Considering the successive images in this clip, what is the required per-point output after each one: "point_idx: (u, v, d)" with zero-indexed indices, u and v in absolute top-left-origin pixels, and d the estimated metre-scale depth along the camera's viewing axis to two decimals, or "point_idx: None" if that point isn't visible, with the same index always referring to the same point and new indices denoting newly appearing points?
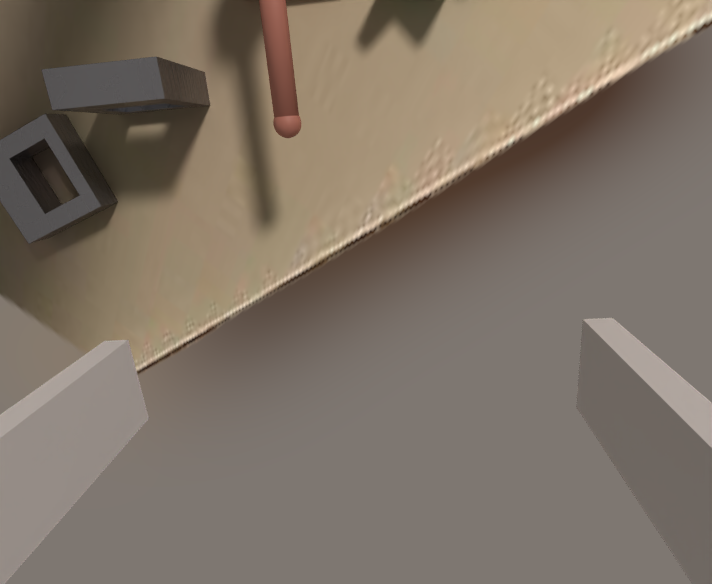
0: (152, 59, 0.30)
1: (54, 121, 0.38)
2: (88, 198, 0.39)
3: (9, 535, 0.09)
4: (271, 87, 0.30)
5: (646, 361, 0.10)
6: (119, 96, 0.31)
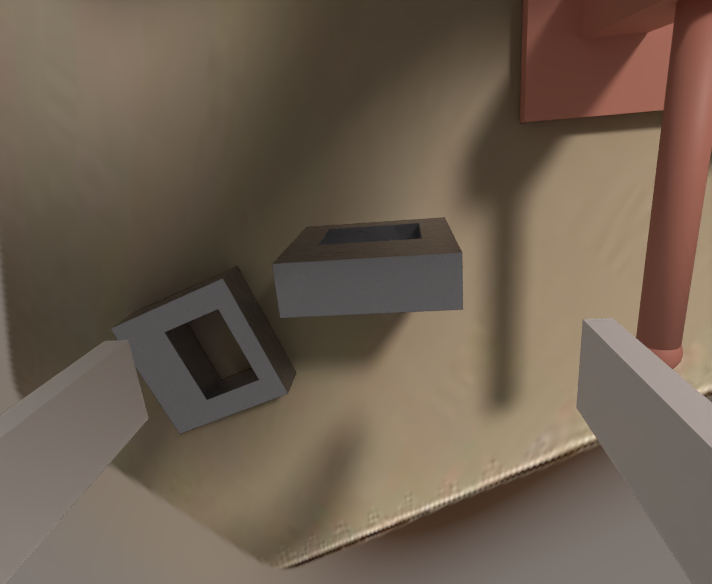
0: (455, 256, 0.19)
1: (231, 285, 0.27)
2: (271, 384, 0.28)
3: (9, 535, 0.09)
4: (653, 306, 0.19)
5: (646, 361, 0.10)
6: (389, 303, 0.20)
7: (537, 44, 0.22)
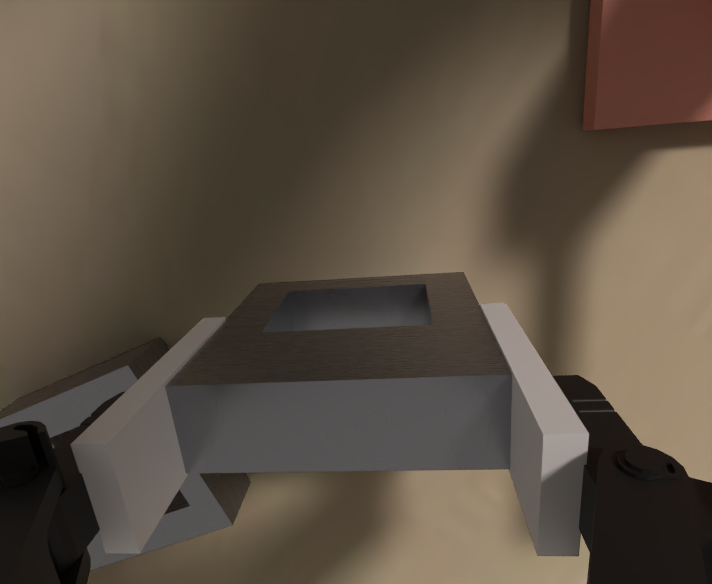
0: (499, 381, 0.10)
1: (144, 372, 0.18)
2: (207, 511, 0.19)
3: (160, 481, 0.11)
4: None
5: (513, 337, 0.12)
6: (378, 456, 0.11)
7: (620, 3, 0.14)
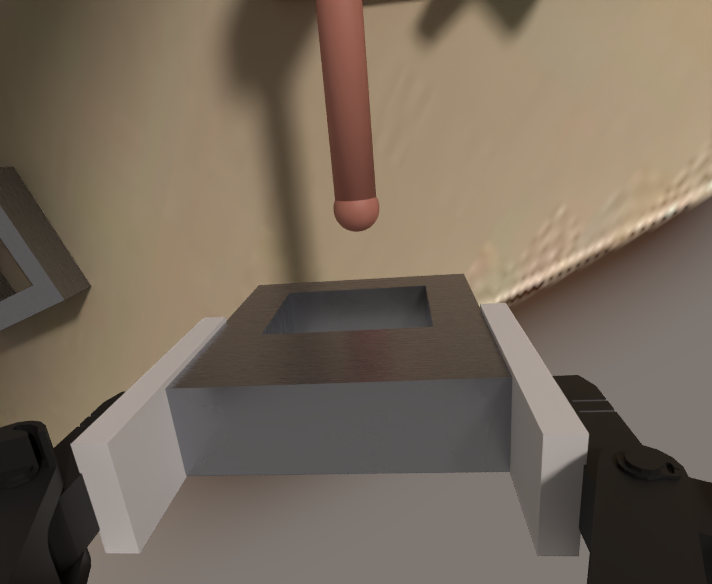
0: (499, 384, 0.10)
1: None
2: (45, 289, 0.27)
3: (160, 481, 0.11)
4: (333, 151, 0.17)
5: (513, 337, 0.12)
6: (378, 458, 0.11)
7: None
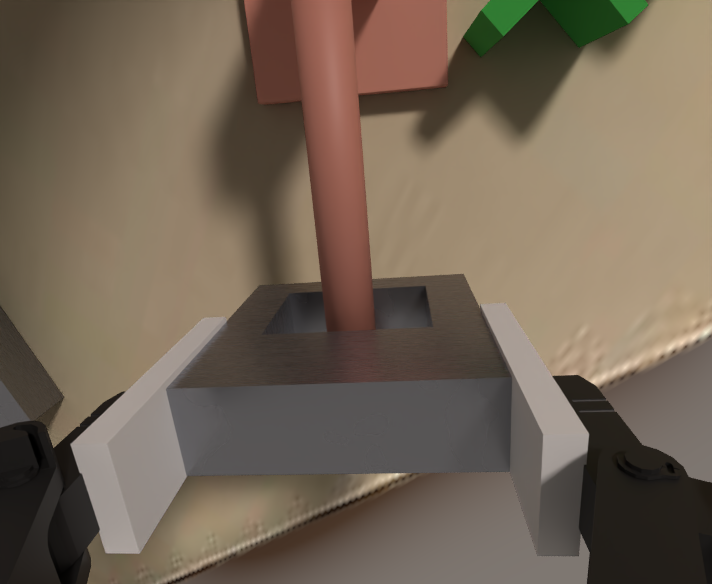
0: (499, 384, 0.10)
1: None
2: (10, 411, 0.24)
3: (160, 481, 0.11)
4: (329, 324, 0.15)
5: (513, 337, 0.12)
6: (378, 458, 0.11)
7: (257, 9, 0.19)
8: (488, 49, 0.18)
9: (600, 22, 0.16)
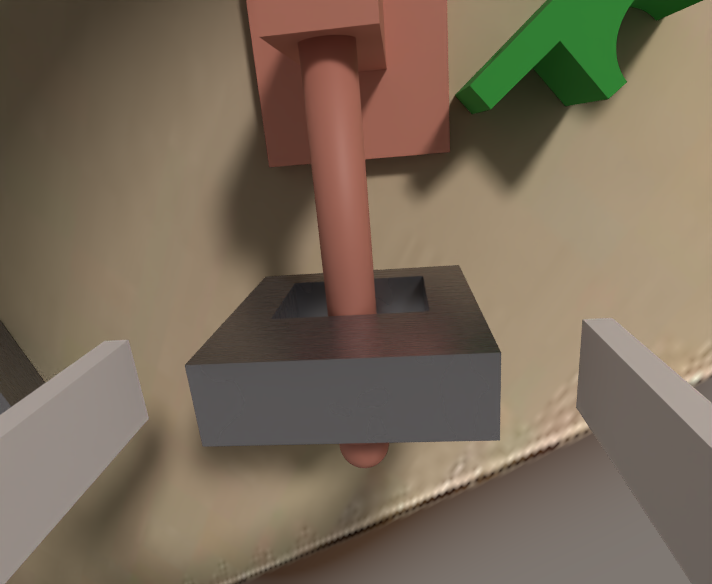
0: (488, 358, 0.11)
1: None
2: None
3: (9, 535, 0.09)
4: None
5: (646, 361, 0.10)
6: (379, 429, 0.12)
7: (268, 81, 0.20)
8: (478, 112, 0.19)
9: (583, 91, 0.17)
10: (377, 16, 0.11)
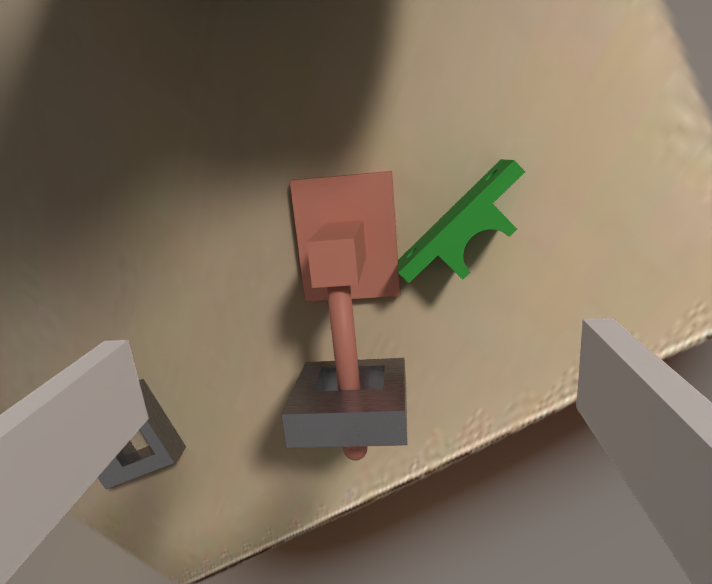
0: (400, 413, 0.30)
1: None
2: (163, 456, 0.43)
3: (9, 535, 0.09)
4: None
5: (646, 361, 0.10)
6: (359, 440, 0.30)
7: (305, 261, 0.38)
8: None
9: None
10: (357, 282, 0.30)
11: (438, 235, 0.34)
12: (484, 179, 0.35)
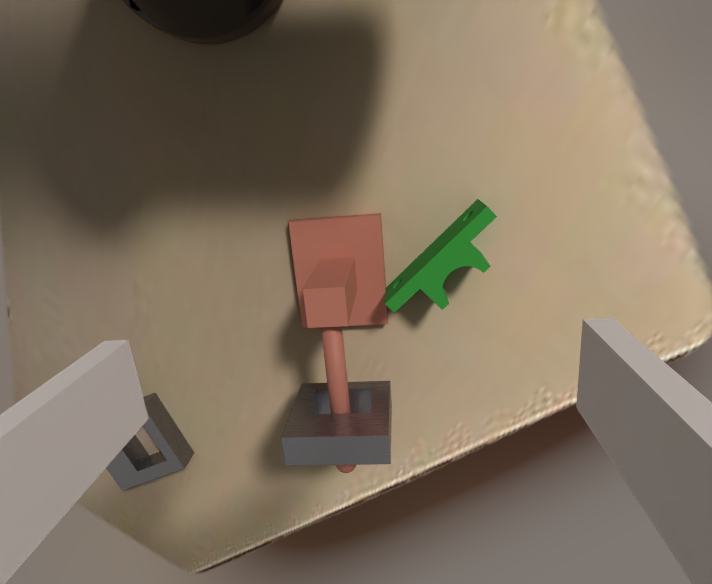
0: (384, 437, 0.34)
1: (148, 407, 0.47)
2: (174, 462, 0.48)
3: (9, 535, 0.09)
4: None
5: (646, 361, 0.10)
6: (348, 459, 0.35)
7: (302, 292, 0.43)
8: None
9: None
10: (347, 324, 0.34)
11: (420, 271, 0.38)
12: (462, 218, 0.39)
